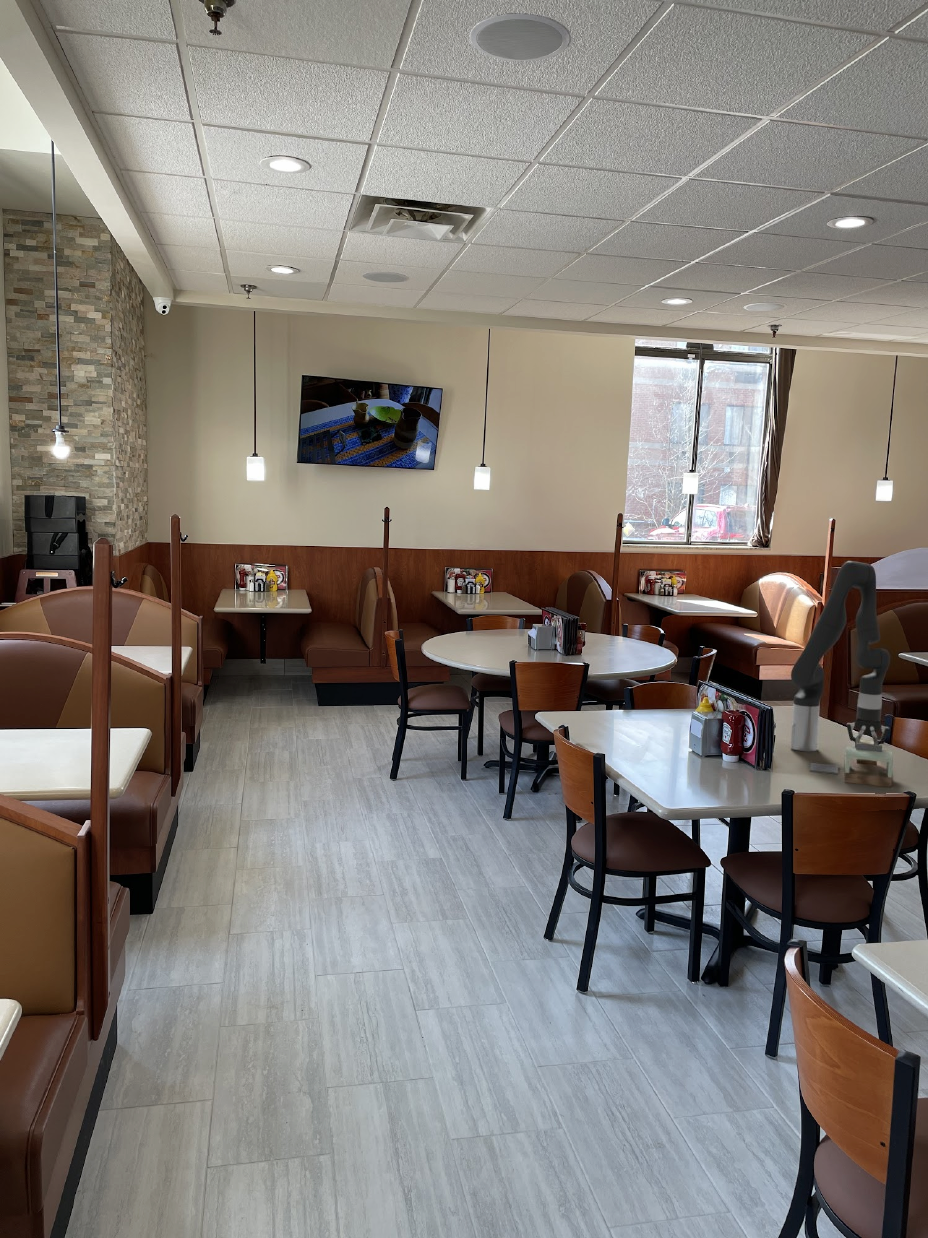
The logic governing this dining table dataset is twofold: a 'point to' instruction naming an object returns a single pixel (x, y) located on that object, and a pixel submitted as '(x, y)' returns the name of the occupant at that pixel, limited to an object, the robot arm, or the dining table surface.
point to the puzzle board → (867, 773)
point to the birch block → (866, 743)
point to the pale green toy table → (869, 755)
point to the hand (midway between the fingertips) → (865, 754)
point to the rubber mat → (824, 768)
